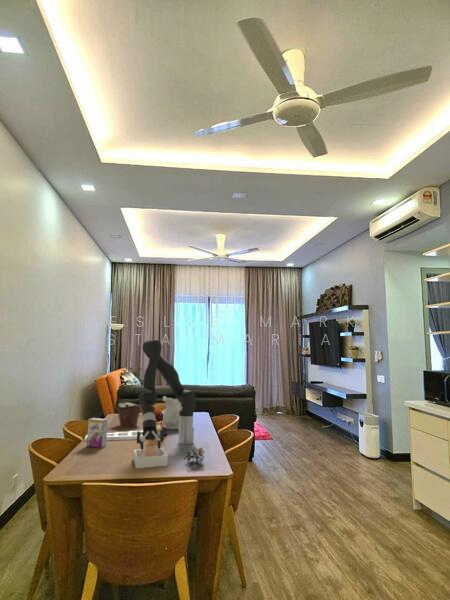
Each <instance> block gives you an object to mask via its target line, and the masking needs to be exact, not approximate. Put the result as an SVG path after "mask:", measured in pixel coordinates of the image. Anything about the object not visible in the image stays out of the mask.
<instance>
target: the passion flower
mask: <svg viewBox="0 0 450 600" xmlns="http://www.w3.org/2000/svg"><path fill="white" fill-rule="evenodd" d="M190 447H191V450H189V451H187V450H185V451H184V453H185V455H186V456H185V457H184V458H183V461H185V460H186V459H187V460H186V464H188V463H189V462H190V461H191V459H193V460H194V459H195V461H196V462H197V464H198V465H199V466H203V462H204V460H205V459H204V458H205V450H203V447H198V446H195V445H191V444H190Z"/></svg>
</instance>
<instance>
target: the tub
mask: <svg viewBox="0 0 450 600" xmlns="http://www.w3.org/2000/svg"><path fill="white" fill-rule="evenodd" d="M144 447H145V448H144V449H145V457H150V456H156V448H157V444H156V443H145V446H144Z"/></svg>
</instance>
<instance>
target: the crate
mask: <svg viewBox="0 0 450 600" xmlns="http://www.w3.org/2000/svg"><path fill="white" fill-rule="evenodd" d="M168 458H169V456H168V454H167V452H166V451H165V448H163V447H160V448H159V449H158V447H156V456H150V457H145V448H143V450H142V449H133V462H134V466H135V469H145V468H157V467H168Z"/></svg>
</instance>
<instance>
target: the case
mask: <svg viewBox="0 0 450 600" xmlns="http://www.w3.org/2000/svg"><path fill="white" fill-rule="evenodd" d="M116 411H117V413H118V419H119V425H120V427H122V428H133V427H134V428H135V427H137V426H138V425H137V424H138V420H139V417H140V413H142V408H141V406H140V404H136V403H132V402H130V401H120V402H119V403H118V404H117V408H116Z"/></svg>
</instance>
